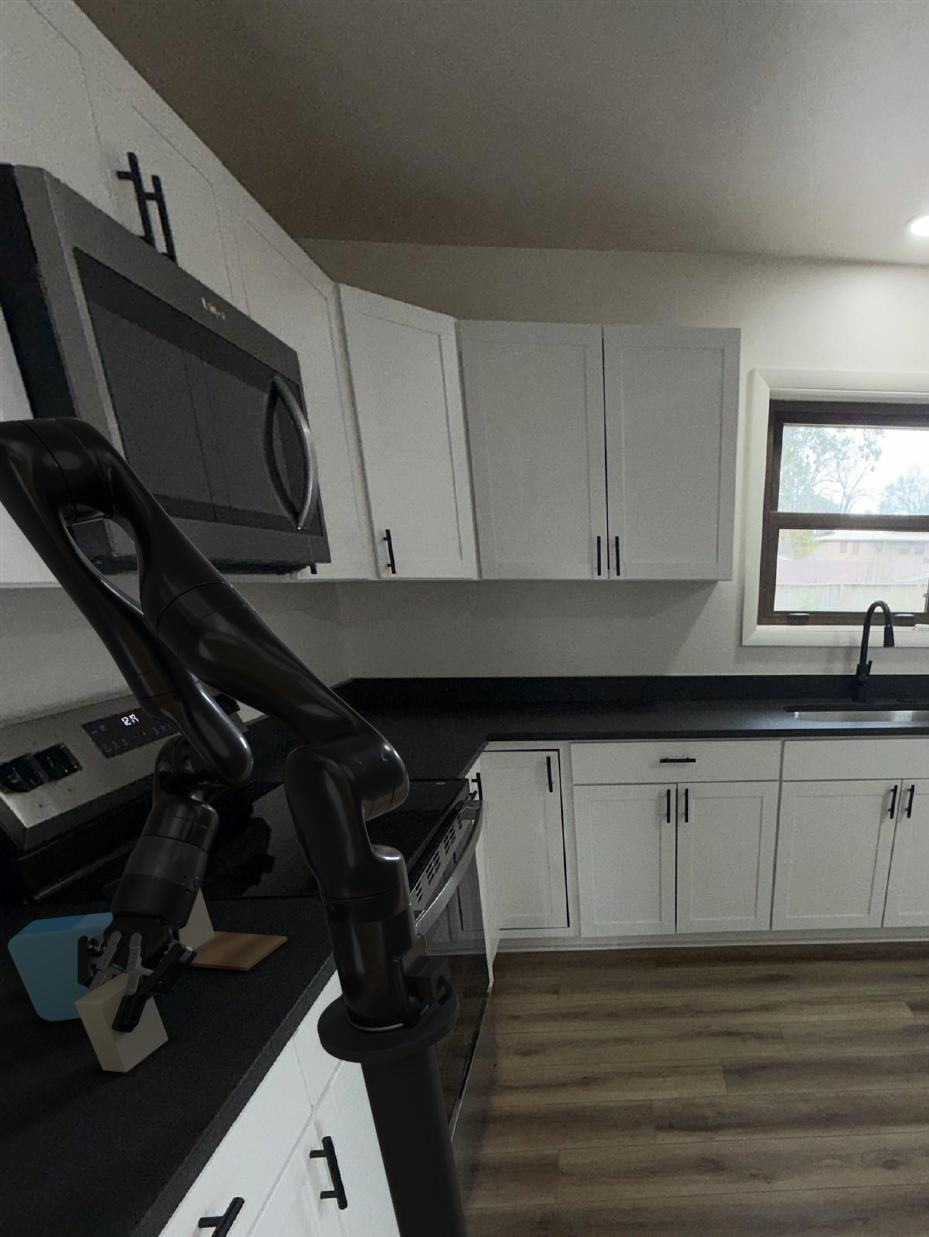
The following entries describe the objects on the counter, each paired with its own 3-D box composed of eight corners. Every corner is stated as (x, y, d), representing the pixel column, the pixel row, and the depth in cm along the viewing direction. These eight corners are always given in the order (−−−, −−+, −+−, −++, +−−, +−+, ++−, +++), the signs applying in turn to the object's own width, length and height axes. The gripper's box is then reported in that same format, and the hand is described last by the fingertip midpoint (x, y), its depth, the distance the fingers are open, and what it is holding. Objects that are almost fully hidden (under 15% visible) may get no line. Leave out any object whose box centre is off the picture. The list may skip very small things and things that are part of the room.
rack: (288, 939, 106) (269, 868, 101) (246, 971, 98) (224, 895, 93) (177, 931, 109) (154, 861, 104) (128, 961, 101) (101, 886, 96)
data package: (164, 990, 94) (136, 908, 89) (152, 1009, 90) (121, 924, 85) (58, 1004, 91) (22, 920, 86) (40, 1024, 87) (2, 937, 82)
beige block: (168, 1039, 84) (145, 974, 80) (126, 1072, 78) (98, 1004, 75) (146, 1037, 84) (121, 972, 81) (102, 1070, 79) (74, 1002, 75)
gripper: (81, 867, 81) (18, 1018, 75) (191, 874, 79) (136, 1030, 73) (134, 890, 88) (80, 1030, 82) (237, 897, 86) (189, 1041, 80)
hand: (107, 1029), depth 77 cm, fingers closed on beige block, 3 cm apart
